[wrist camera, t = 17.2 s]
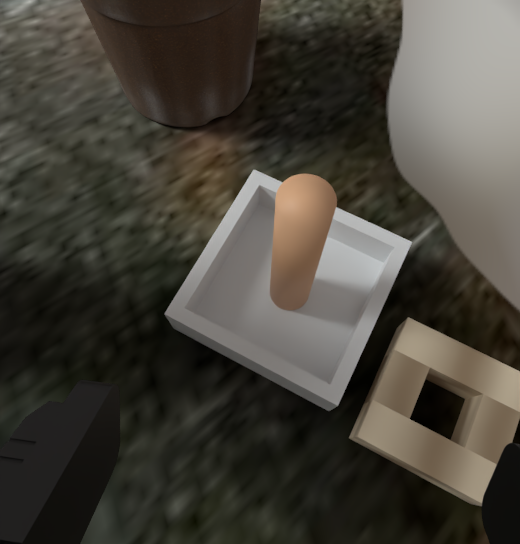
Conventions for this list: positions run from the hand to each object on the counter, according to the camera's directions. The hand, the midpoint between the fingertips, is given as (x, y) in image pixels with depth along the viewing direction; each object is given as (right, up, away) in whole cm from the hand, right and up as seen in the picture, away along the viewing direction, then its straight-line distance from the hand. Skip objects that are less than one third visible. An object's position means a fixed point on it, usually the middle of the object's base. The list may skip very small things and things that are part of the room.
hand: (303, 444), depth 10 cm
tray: (+1, +2, +28) cm, 28 cm away
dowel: (+1, +2, +27) cm, 27 cm away
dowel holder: (+11, -6, +25) cm, 28 cm away
